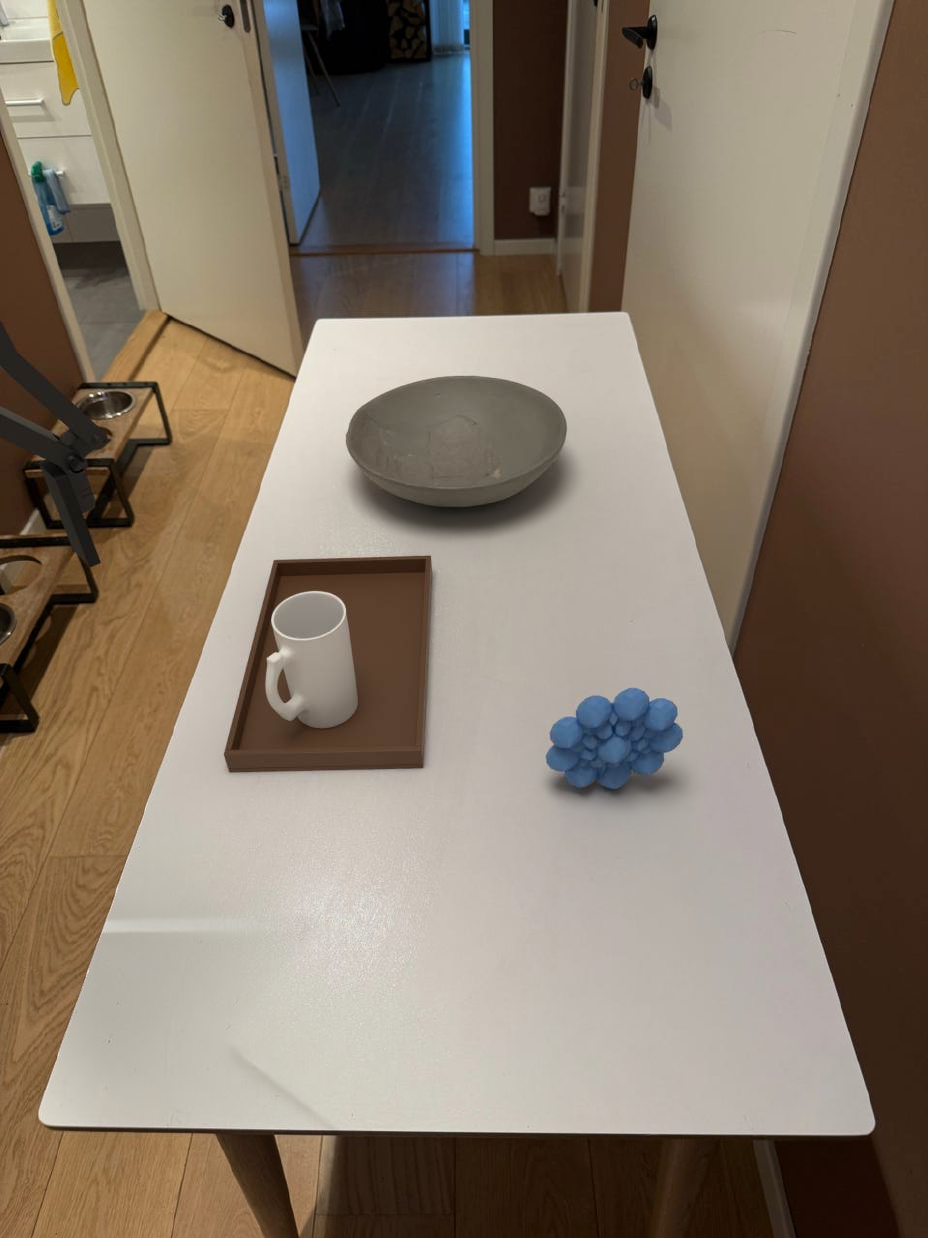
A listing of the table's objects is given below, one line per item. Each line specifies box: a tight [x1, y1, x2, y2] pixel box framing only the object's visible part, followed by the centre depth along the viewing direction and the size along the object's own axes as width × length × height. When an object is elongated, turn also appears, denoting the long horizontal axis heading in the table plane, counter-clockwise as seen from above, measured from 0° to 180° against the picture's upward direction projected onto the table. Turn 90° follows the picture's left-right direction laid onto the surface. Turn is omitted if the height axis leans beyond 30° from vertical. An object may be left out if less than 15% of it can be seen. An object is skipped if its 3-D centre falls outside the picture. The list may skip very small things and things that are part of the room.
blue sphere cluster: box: [545, 687, 684, 790], centre depth 80 cm, size 12×7×12 cm, turn 90°
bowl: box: [345, 375, 568, 508], centre depth 119 cm, size 27×28×8 cm
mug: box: [265, 591, 358, 728], centre depth 86 cm, size 10×7×12 cm, turn 146°
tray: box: [223, 554, 433, 773], centre depth 96 cm, size 29×18×2 cm, turn 0°
